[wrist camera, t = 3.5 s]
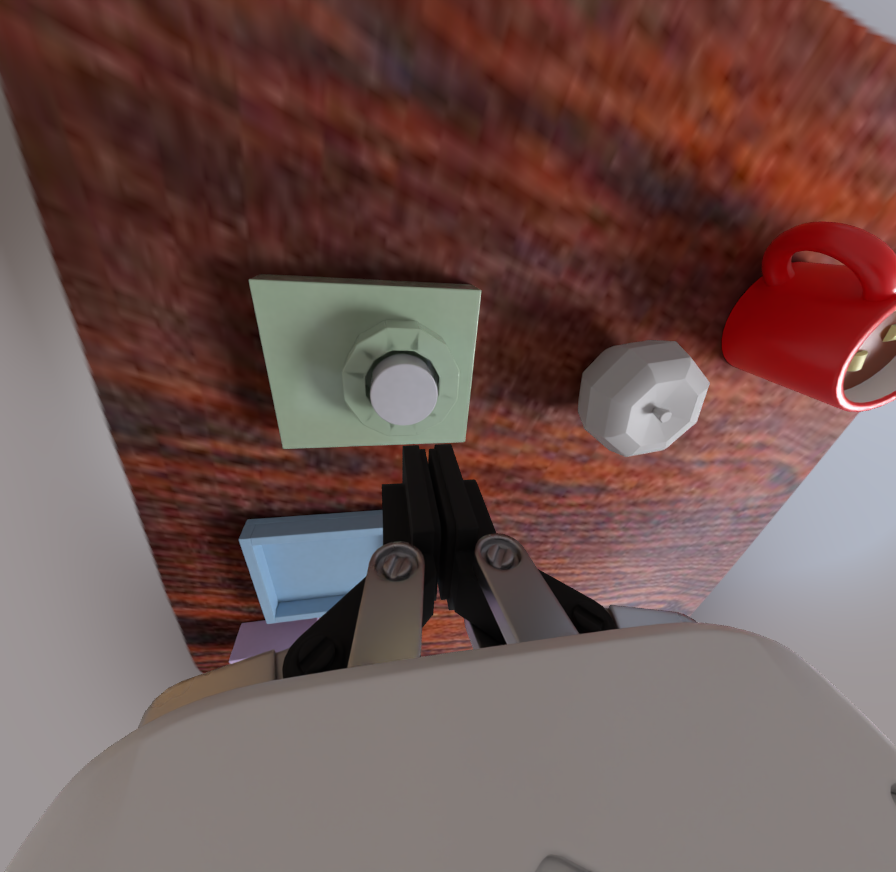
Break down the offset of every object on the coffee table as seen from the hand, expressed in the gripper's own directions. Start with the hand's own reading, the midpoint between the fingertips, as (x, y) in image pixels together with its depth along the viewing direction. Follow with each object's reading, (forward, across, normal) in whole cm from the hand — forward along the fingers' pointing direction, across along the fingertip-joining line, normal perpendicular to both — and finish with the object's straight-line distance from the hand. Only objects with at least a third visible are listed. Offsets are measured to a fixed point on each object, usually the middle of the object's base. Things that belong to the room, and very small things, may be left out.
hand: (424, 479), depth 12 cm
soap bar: (+12, +12, +28) cm, 33 cm away
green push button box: (+13, +2, 0) cm, 13 cm away
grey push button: (+9, 0, 0) cm, 9 cm away
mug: (+13, -26, -5) cm, 30 cm away
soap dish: (+12, +6, +18) cm, 23 cm away
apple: (+13, -15, +1) cm, 20 cm away
